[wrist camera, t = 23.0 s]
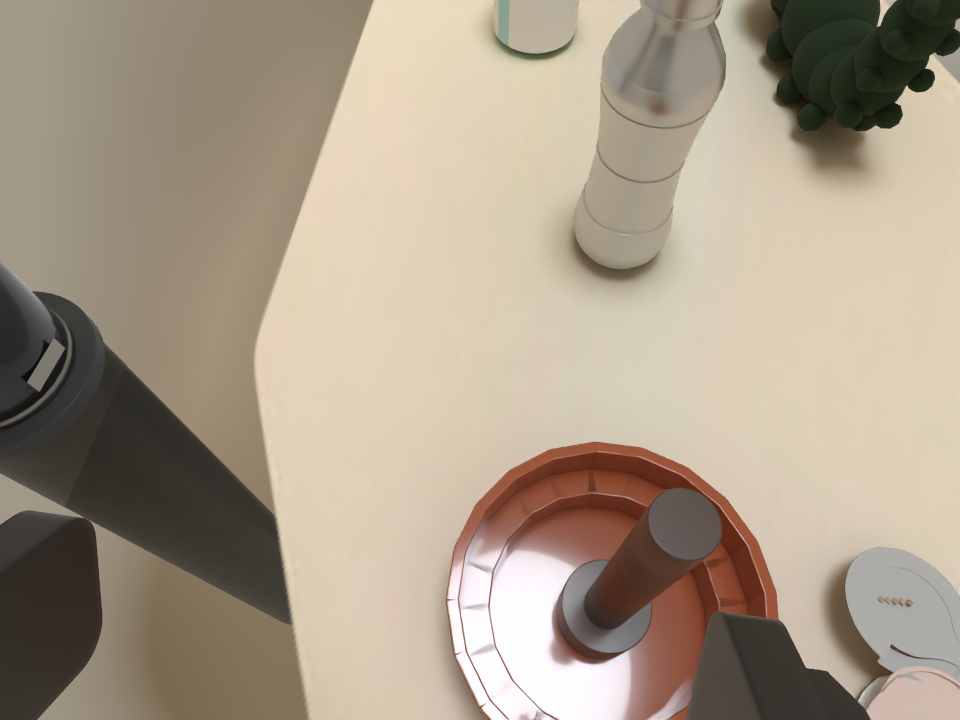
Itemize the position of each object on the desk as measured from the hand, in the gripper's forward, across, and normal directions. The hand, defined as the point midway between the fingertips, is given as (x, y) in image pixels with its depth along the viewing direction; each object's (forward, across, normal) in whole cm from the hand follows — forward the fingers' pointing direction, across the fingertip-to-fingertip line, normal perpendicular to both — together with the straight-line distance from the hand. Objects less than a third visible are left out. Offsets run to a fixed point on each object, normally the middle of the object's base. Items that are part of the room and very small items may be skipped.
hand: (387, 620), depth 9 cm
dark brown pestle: (+24, -7, +17) cm, 30 cm away
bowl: (+24, -7, +17) cm, 31 cm away
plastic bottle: (+42, -7, 0) cm, 43 cm away
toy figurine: (+57, -22, -15) cm, 62 cm away
